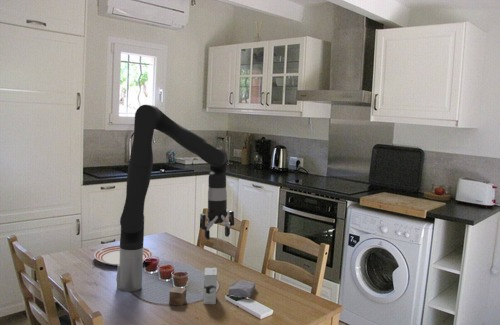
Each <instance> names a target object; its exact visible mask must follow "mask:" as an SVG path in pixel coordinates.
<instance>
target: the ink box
mask: <svg viewBox="0 0 500 325" xmlns="http://www.w3.org/2000/svg"><path fill="white" fill-rule="evenodd" d="M217 277H218V268H217V267H204V277H203V304H204V305H216V304H217V303H216V302H217V301H216V300H217V280H218V278H217Z"/></svg>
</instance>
